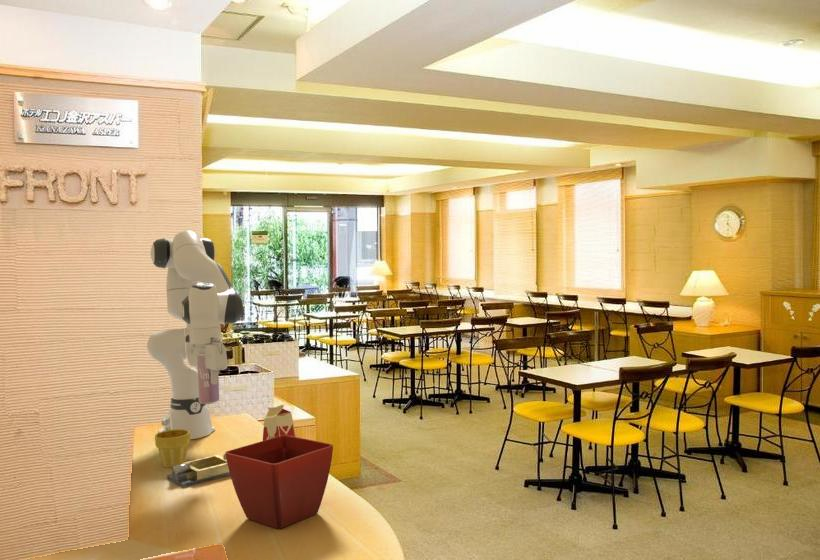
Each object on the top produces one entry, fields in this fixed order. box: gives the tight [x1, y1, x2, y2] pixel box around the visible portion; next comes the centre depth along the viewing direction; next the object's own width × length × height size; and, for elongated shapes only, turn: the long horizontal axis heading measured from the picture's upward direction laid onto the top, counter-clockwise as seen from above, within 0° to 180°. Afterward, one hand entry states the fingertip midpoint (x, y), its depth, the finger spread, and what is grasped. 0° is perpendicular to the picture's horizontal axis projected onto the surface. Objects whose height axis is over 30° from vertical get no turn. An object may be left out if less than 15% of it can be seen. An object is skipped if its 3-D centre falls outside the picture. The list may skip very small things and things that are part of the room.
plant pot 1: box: [154, 429, 191, 468], centre depth 214 cm, size 10×10×10 cm
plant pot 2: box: [224, 435, 334, 530], centre depth 168 cm, size 19×19×17 cm
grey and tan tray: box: [166, 453, 230, 488], centre depth 203 cm, size 12×21×5 cm, turn 131°
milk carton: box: [262, 404, 297, 441], centre depth 204 cm, size 9×9×20 cm
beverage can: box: [196, 353, 220, 405], centre depth 206 cm, size 6×6×15 cm
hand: (208, 383), depth 206 cm, fingers closed on beverage can, 5 cm apart
